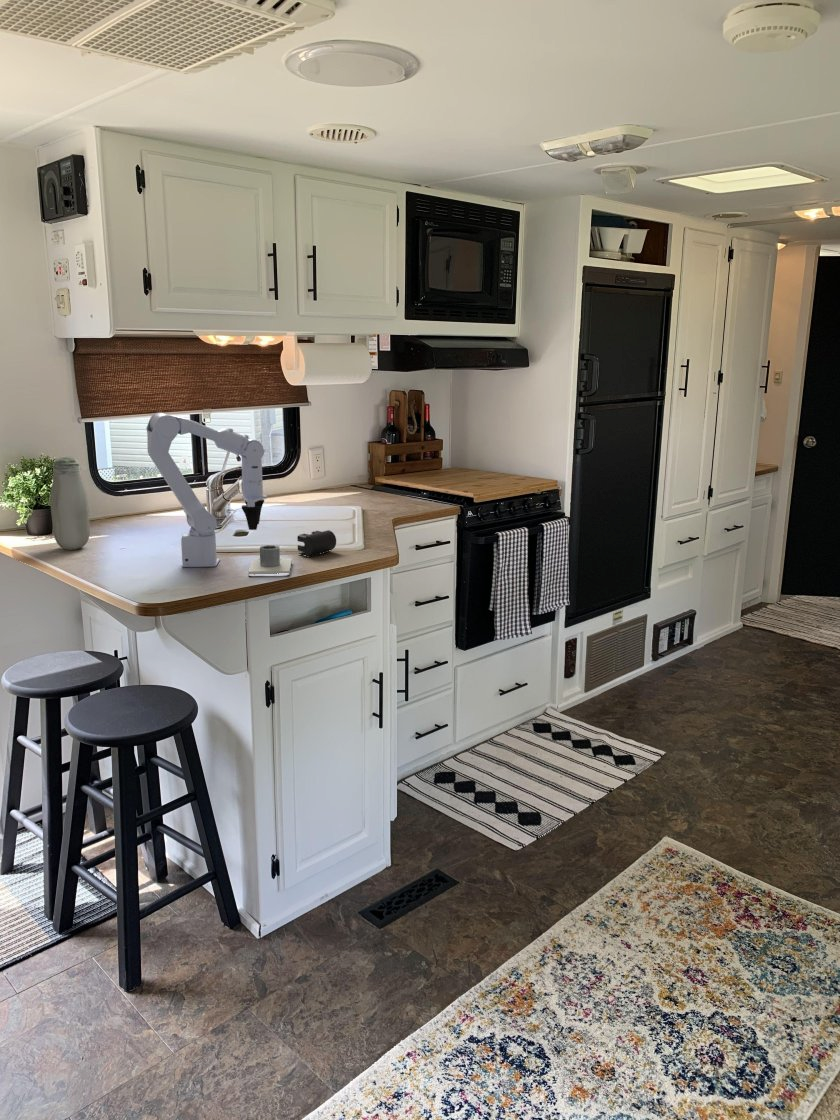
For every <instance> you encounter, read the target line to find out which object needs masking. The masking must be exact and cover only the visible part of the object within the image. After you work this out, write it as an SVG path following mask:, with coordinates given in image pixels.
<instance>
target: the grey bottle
mask: <svg viewBox="0 0 840 1120" xmlns="http://www.w3.org/2000/svg"><path fill="white" fill-rule="evenodd" d="M80 465H81V464H80V463H79V461H78V460H77V459H76V458H75V457H72V456H64V457H59V458H57V459H55V461H54V463H53V465H52V471H53V475H52V485H51V488H50V495H49V502H50V504H49V505H50V515H51V521H52V522H51V523H52V529H53V530H52V532H53V536H54V539H55V542H56V544H57V545H58V546H59V547H60V548H62V549H64V550H69V551H74V550H78V549H81V548H84V546H86V545H87V543H88V542H89V538H90V536H91V526H90V516H89V515H90V514H89V498H88V494H87V489H86V486H85V484H84V481H83V478H82V474H81V466H80Z"/></svg>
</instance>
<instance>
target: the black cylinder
mask: <svg viewBox="0 0 840 1120" xmlns="http://www.w3.org/2000/svg"><path fill="white" fill-rule="evenodd" d="M297 542H299V543H303V544H304V545H300V544H298V545H297V551H298V552H299V553H298V555H299V554H301V555H306V556H311V557H313V556H312V555H315V556H317V555H316V554H319V555H321V554H320V553H323V552H326V551H329V550H331V551H332V550H334V549H335V547H336V545H337V537H336V535H335V533H334V532H333V531H331V530H329V529H328V530H324V531H320V530H313V531H311V534H309V533H302V534H301V533H300V534H298V535H297ZM323 554H324V553H323Z"/></svg>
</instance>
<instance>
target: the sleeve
mask: <svg viewBox="0 0 840 1120" xmlns="http://www.w3.org/2000/svg"><path fill="white" fill-rule="evenodd" d="M280 555H281V554H280V545H279V546H278V545H274V544H272V545H271V544H269V545H262V546H260V547H259V559H260V566H263V567H276V566H279V565H280V559H281V556H280Z"/></svg>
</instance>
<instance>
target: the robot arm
mask: <svg viewBox="0 0 840 1120" xmlns="http://www.w3.org/2000/svg"><path fill="white" fill-rule="evenodd" d="M146 433H147V436H146V437H147V454H148V456H149V457H150V459H151V460H152V462H153V463H154V466H155V467H156V468H157V470H158V471H159V473H160V474H161V476H162V477H163V480H165V482H166V484H167V485H168V487H169V488H170V489H171V491H172V493H173V495H174V496H175V498H176V499H177V501H178V502H179V504H180V505H181V507H182V510H183V512H184V514H185V515H186V516H185V517H186V523H187V525H188V526H189V527H190V529H189V530H188V531H189V532H188V533H183V534H181V540H180V541H181V542H180V543H181V560H182V561H181V562H182V565H181V566H182V568H195V567H197V568H200V567H201V568H202V567H206V568H208V567H217V566H218V564H219V562H220V560H221V559H220V557H219V558H217V557H218V556H217V541H216V540H217V539H216V529H217V527H218V521H217V518H216V517H215V515H214V514H212V513H210V512H209V511H208V510H207V509H206V507H205V506H204V505H203V504H202V503H201V502H202V501H200V500H199V499H198V497H197V495H196V494H195V492H194V491H193V489H192V487H191V486H190V484H189V483H188V480H186V478H185V476H184V475H183V473H182V472H181V470H180V468H179V467H178V465H177V463H176V462H175V461H174V459H173V457H172V456H171V454H170V453H169V452H170V448H171V445H172V442H173V441H174V440H175V438H176V437H177V436H178V435H181V436H182V435H185V434H186V435H187V434H192V435H194V436H198V437H200V438H204V439H207V440H209V441H212V442H214V444H215V446H216V448H217V449H220V450H222V451H223V450H224V451H226V452H229V453H231V454H234V455H238V456H241V478H242V479H241V481H242V482H241V483H242V496H241V497H242V500H244V503H245V504H243V505H241V509H242V511H243V514H244V515H245V519H246V523H247V527H248V530H249V531H257V529H258V525H259V524H260V520H261V519H260V518H261V512H262V508H263V506H264V505H263V504H264V503H265V499H268V495H267V494H264V489H263V487H264V486H263V465H262V462H263V461H262V460H263V459H262V458H263V457H264V456H265V455H264V454H265V449H264V446H263V444H262V443H261V442H260V441H259V440H257V439H253V438H251V437H249V435H247V434H240V433H238V432H235V431H234V429H233V428H230V427H227V428H221V429H220V430H216V429H213V428H211V427H209V426H206V425H203V424H201V423H199V422H197V421H195V420H191V419H189V418H185V417H182V416H177V415H173V414H167V413H164V412H155V413H154V414H152V416H150V418H149V421H148V422H147V426H146Z"/></svg>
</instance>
